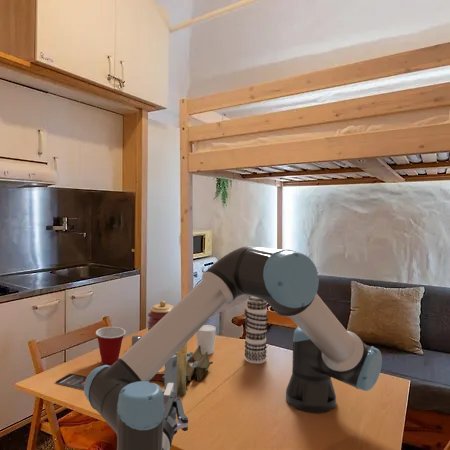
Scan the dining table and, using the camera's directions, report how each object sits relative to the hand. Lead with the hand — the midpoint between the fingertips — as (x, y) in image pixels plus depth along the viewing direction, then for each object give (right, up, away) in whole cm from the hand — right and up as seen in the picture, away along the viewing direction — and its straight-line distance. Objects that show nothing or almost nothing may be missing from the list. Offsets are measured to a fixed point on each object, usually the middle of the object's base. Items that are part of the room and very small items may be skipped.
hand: (170, 387), depth 96 cm
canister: (-14, -9, +69) cm, 71 cm away
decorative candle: (+26, -11, +50) cm, 58 cm away
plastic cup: (-29, -10, +44) cm, 54 cm away
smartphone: (-34, -11, +27) cm, 45 cm away
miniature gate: (-6, -11, +39) cm, 41 cm away
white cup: (+6, -10, +57) cm, 58 cm away
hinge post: (-12, -11, +15) cm, 22 cm away
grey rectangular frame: (-5, -11, +9) cm, 16 cm away
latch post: (0, -11, +21) cm, 24 cm away
